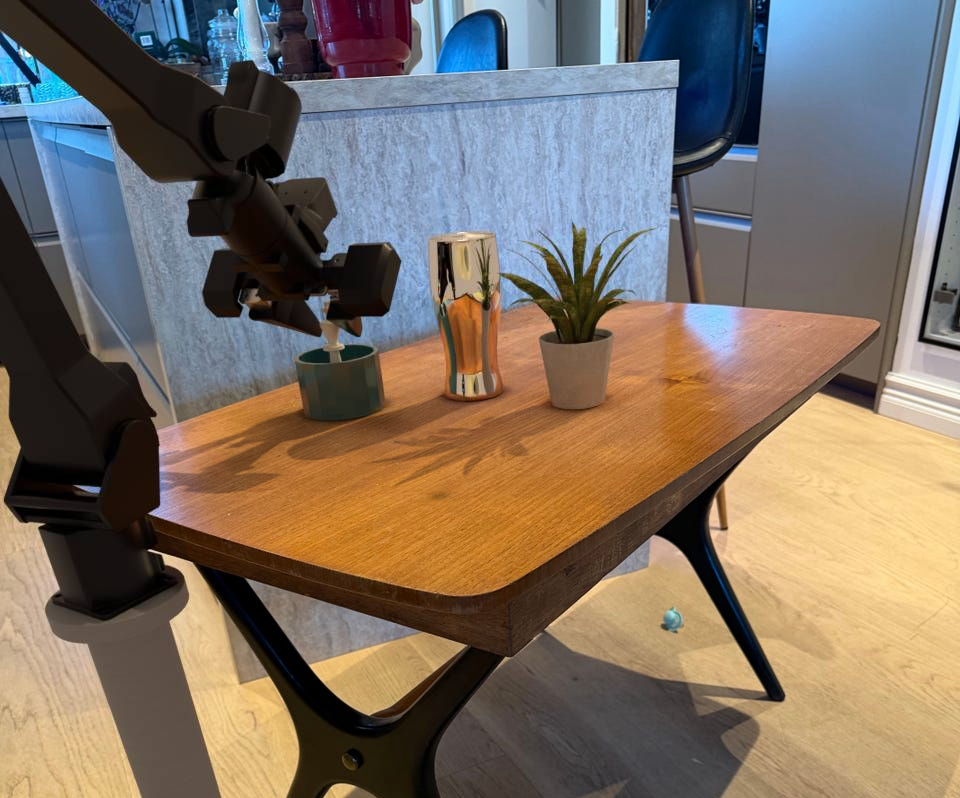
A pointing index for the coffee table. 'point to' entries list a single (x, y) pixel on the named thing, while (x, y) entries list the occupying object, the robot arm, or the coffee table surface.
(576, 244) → the house plant
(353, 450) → the coffee table surface
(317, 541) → the coffee table surface
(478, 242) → the beer glass
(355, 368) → the pot
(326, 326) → the chess piece
